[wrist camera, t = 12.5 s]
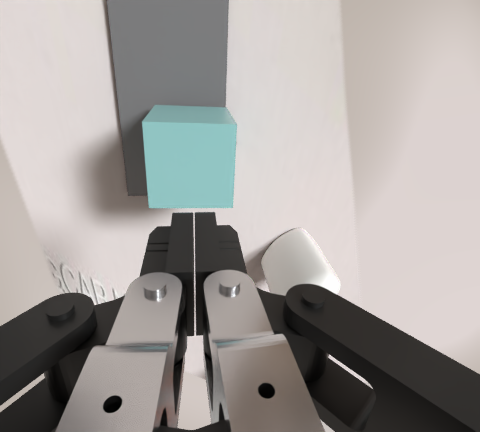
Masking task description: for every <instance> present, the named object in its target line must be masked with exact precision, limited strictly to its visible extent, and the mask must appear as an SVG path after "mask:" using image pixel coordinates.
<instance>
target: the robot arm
mask: <svg viewBox="0 0 480 432" xmlns="http://www.w3.org/2000/svg"><path fill="white" fill-rule="evenodd" d="M195 274H196V336H197V335H203V344H204V367H205V375H206V383H207V391H208V399H209V408H210V416H211V424H210V425H207V426H205V427H202V428H199V429H196V430H184V429H179V428H177V426H178V425H177V424H178V415H179V407H180V399H181V390H182V381H183V373H184V364H185V352H186V349H187V336H194V237H193V213H173V214H172V221H171V226H161V227H157V228H155V229H154V230H153V231H152V232H151V233H150V234H149V239H148V243H147V247H146V252H145V256H144V260H143V264H142V268H141V273H140V277H138V278H137V279H135V280H134V281H133V282H132V283H131V284H130V285H129V287H128V289H127V292H126V294H125V296H123V297H121V298H118V299H116V300H113V301H109V302H105V303H102V304H98V305H94V303H93V301H92V299H91V298H90V297H88V296H87V295H84V294H81V293H65V294H60V295H57V296H54V297H51V298H49V299H47V300H45V301H43V302H41V303H40V304H38V305H36V306H34V307H33V308H31V309H29V310H28V311H26V312H24V313H22V314H21V315H19V316H17V317H16V318H14V319H12V320H10V321H9V322H7V323H5V324H3V325H2V326H0V405H2V404H3V403H4V402H6V401H7V400H8V399H10V398H11V397H12V396H13V395H15V394H16V393H18V392H19V391H20V390H22V389H23V388H24V387H26V386H27V385H28V384H29V383H31V382H32V381H33V380H35V379H36V378H37V377H39V376H40V375H41V374H43V373H44V376H45V378H44V379H43V380H42V381H41V382H39V383H38V384H37V385H36V386H34V387H33V388H32V389H30V390H29V391H28V392H26V393H25V394H24V395H22V396H21V397H20V398H19V399H17V400H16V401H15V402H13V403H12V404H11V405H10V406H8V407H7V408H6V409H4V410H3V411H2V412H0V432H325V430H324V428H323V425H322V423H321V420H322V421H323V422H324V423H325V424H326V425H328V426H329V427H330V428H331V429H332V430H334V431H335V432H480V374H478V373H476V372H474V371H473V370H471V369H469V368H467V367H465V366H464V365H462V364H460V363H458V362H457V361H455V360H453V359H451V358H449V357H448V356H446V355H444V354H442V353H440V352H439V351H437V350H435V349H433V348H431V347H430V346H428V345H426V344H424V343H423V342H421V341H419V340H417V339H415V338H414V337H412V336H410V335H408V334H406V333H404V332H403V331H401V330H399V329H397V328H396V327H394V326H392V325H390V324H389V323H387V322H385V321H383V320H381V319H379V318H378V317H376V316H374V315H372V314H371V313H369V312H367V311H365V310H363V309H362V308H360V307H358V306H356V305H355V304H353V303H351V302H349V301H347V300H346V299H344V298H342V297H340V296H338V295H337V294H335V293H333V292H331V291H329V290H328V289H326V288H324V287H321V286H319V285H315V284H298V285H295V286H293V287H291V288H290V289H289V290H288V291H287V293H286V296H284V295H278V294H273V293H269V292H266V291H263V290H261V289H259V288H257V287H256V286H255V283H254V281H253V280H252V278H251V277H249V276H248V275H247V272H246V267H245V263H244V259H243V255H242V251H241V246H240V242H239V238H238V234H237V232H236V231H235V230H234V229H233V228H232V227H231V226H230V225H217V224H216V217H215V212H195ZM329 354H330V355H331V356H333V357H334V358H335V359H337V360H338V361H340V362H341V363H343V364H344V365H345V366H347V367H348V368H350V369H351V370H353V371H354V372H356V373H357V374H358V375H360V376H361V377H363V378H364V379H365V380H366V381H368V382H369V383H370V385H371V386H372V387H373V389H374V390H373V389H372V388H370V387H369V386H367V385H366V384H365V383H363V382H362V381H360V380H359V379H358V378H356V377H355V376H353V375H352V374H350V373H349V372H348V371H346V370H345V369H343V368H342V367H340V366H339V365H338V364H336V363H335V362H333V361H332V360H331V359H329V358H328V356H329ZM320 419H321V420H320Z"/></svg>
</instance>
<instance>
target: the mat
mask: <svg viewBox="0 0 480 432" xmlns="http://www.w3.org/2000/svg"><path fill="white" fill-rule="evenodd" d="M228 4H229V0H107V7H108V16H109V25H110V34H111V43H112V52H113V61H114V70H115V80H116V89H117V98H118V107H119V116H120V125H121V134H122V143H123V152H124V161H125V171H126V180H127V189H128V196H148V191H147V178H146V166H145V153H144V140H143V127H142V121H143V120H144V118H145V117H146V116H147V115H148V113H149V112H150V111H151V109H152V108H153V107H154V106H155V105H174V106H201V107H225V105H226V71H227V38H228Z"/></svg>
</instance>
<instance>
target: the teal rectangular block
mask: <svg viewBox="0 0 480 432" xmlns="http://www.w3.org/2000/svg"><path fill="white" fill-rule="evenodd" d="M142 127H143V140H144V153H145V166H146V178H147V191H148V204H149V208H233V194H234V173H235V151H236V130H237V124H236V122H235V121H234V119H233V117H232V116H231V114H230V112H229V111H228V109H227V107H201V106H174V105H155V106H154V107H153V108H152V109H151V111H150V112H149V113H148V115H147V116H146V117H145V118H144V120H143V121H142Z"/></svg>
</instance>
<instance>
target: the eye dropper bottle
mask: <svg viewBox="0 0 480 432" xmlns="http://www.w3.org/2000/svg"><path fill="white" fill-rule="evenodd" d="M261 265H262V269H263V272H264V275H265V278H266V281H267V284H268V287H269V291H270V293H273V294H278V295H284V296H286V293H287V291H288V290H289V289H290V288H291V287H293V286H295V285H298V284H315V285H319V286H321V287H324V288H326V289H328V290H329V291H331V292H333V293H335V294H338V292H339V290H340V285H341V283H340V280H339V278H338V276H337V275H336V273H335V271H334V270H333V268H332V267H331V265H330V263H329V262H328V260H327V259H326V257H325V256H324V254H323V252H322V251H321V249H320V248H319V246H318V245H317V243H316V242H315V240H314V239H313V237H312V236H311V235H310V234H309V233H308V232H307V231H305V230H304V229H302V228H296V229H293V230H291V231H289V232H287V233H285V234H283V235H282V236H280V237H279V238H278V239H276V240H275V241H274V242H273V243H272V244H271V245H270V247H269V248H268V249H267V251H266V252H265V254H264V256H263V258H262V260H261Z"/></svg>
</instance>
